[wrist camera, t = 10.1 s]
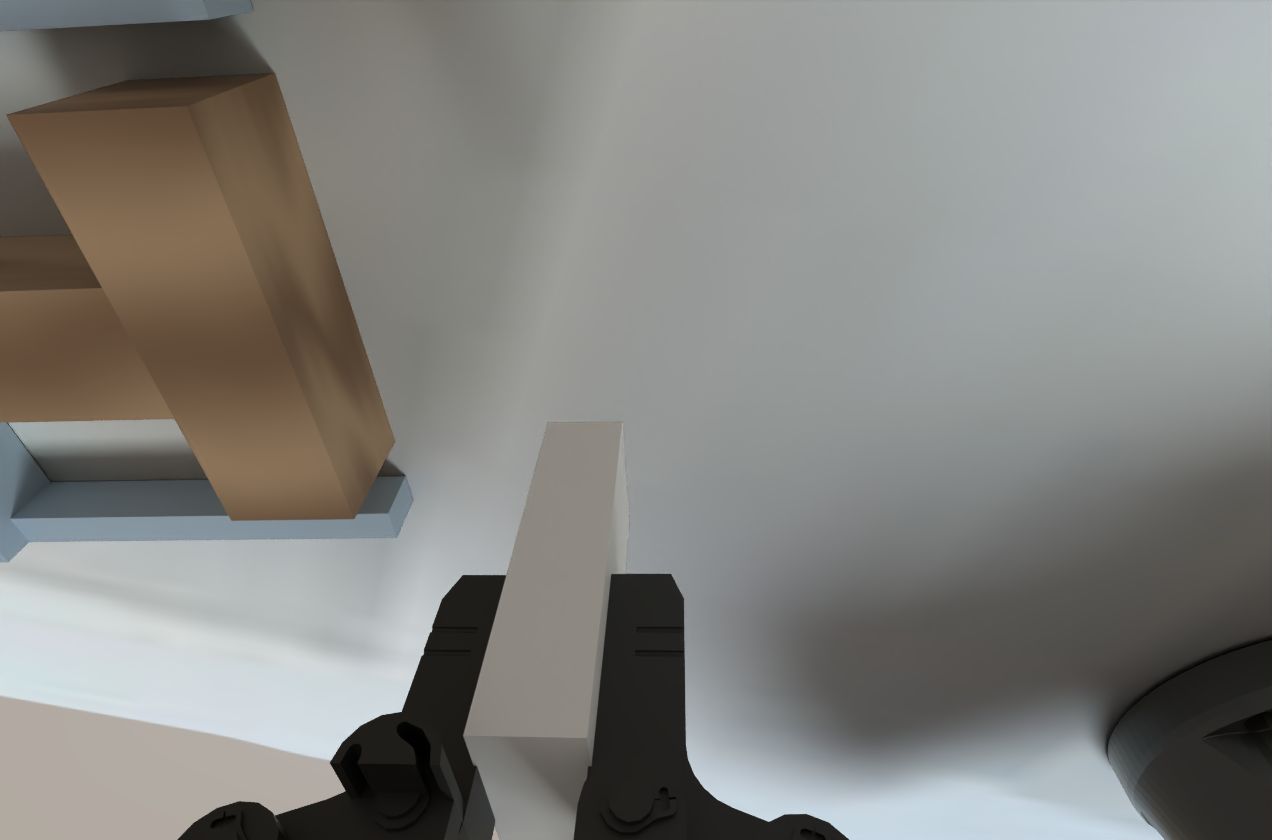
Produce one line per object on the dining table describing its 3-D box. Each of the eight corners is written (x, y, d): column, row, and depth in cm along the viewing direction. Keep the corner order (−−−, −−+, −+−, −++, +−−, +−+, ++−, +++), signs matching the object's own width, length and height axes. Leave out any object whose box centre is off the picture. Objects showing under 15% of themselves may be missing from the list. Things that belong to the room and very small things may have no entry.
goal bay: (413, 499, 26) (387, 558, 24) (38, 505, 27) (-24, 562, 24) (234, -49, 16) (156, -45, 13) (-361, -13, 17) (-535, -3, 14)
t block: (394, 441, 24) (354, 519, 21) (79, 447, 25) (-8, 523, 22) (274, 72, 17) (186, 106, 14) (-161, 94, 18) (-339, 131, 15)
